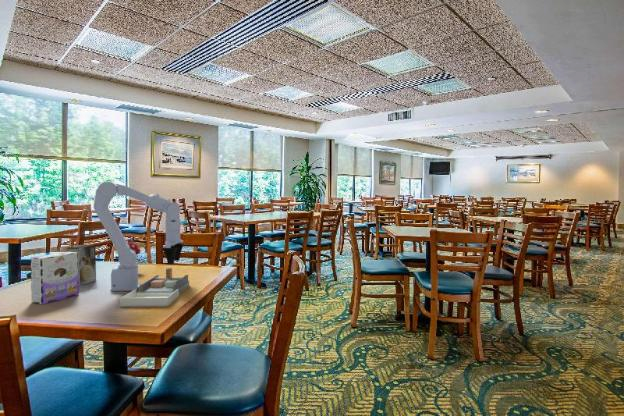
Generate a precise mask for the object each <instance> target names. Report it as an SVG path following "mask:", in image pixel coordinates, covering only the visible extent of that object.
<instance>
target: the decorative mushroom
mask: <svg viewBox="0 0 624 416" xmlns="http://www.w3.org/2000/svg"><path fill="white" fill-rule="evenodd" d="M127 243H128V245H129V247H130V248H131V249H132V250H134V251H135V252H136V255H137V256H138V255H139V254H141V249H140V247H139V245H137V243H135V242H134V241H129V242H127Z"/></svg>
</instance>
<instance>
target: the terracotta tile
mask: <svg viewBox="0 0 624 416" xmlns="http://www.w3.org/2000/svg"><path fill="white" fill-rule="evenodd" d="M164 285H165V280H154V281H152V282H151V287H162V286H164Z"/></svg>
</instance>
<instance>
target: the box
mask: <svg viewBox="0 0 624 416" xmlns="http://www.w3.org/2000/svg"><path fill="white" fill-rule="evenodd" d="M179 297H180V294H179V289H177V290H176V291H174V292H144V293H139V292H137V289H135V290H133V291H129V292H128V293H126V294H125V295H123V296H122V297H120V298H119V299H120V301H119V303H120V306H119V307H120V308H121V307H122V308H126V307H127V308H131V307H132V308H135V307H136V308H139V307H142V308H145V307H152V308H153V307H154V308H155V307H158V308H159V307H160V308H161V307H166V308H167V307H169V306H170V305H171V304H172V303H174V302H175V301H176V300H177V299H178V298H179Z"/></svg>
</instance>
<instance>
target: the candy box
mask: <svg viewBox="0 0 624 416" xmlns="http://www.w3.org/2000/svg"><path fill="white" fill-rule="evenodd" d="M30 279H31V280H30V281H31V286H30V287H31V288H30V289H31V303H34V304H37V305H38V304H39V305H46V304H49V303H51V302H53V303H54V302H56V301H59V300H63V299H66V298H71V297H74V296H78V295H79V294H80V287H79V281H78V252H67V251H65V252H64V251H63V252H57V253H51V254H50V253H49V254H44V255H37V256H32V257H30Z"/></svg>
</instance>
